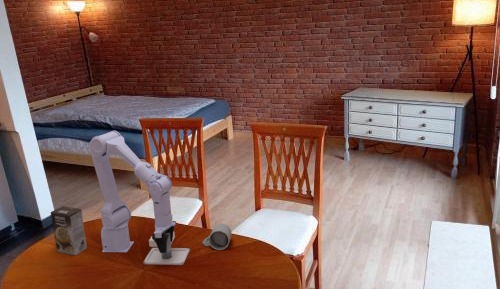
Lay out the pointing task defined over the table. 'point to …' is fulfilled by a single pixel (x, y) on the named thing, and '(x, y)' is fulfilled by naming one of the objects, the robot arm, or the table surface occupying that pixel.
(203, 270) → the table surface
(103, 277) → the table surface
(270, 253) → the table surface
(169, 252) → the steel pin
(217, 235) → the ceramic mug
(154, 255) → the tray
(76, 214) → the coffee box
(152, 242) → the square socket block
